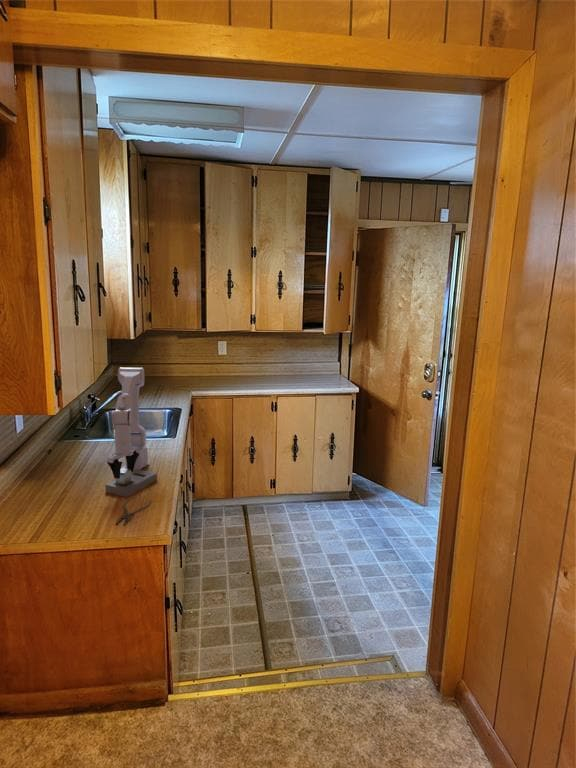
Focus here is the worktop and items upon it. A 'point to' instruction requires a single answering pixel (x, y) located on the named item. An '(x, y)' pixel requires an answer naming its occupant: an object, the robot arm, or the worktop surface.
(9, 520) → the worktop surface
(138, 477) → the socket plate
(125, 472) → the peg
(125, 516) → the pliers
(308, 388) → the worktop surface
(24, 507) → the worktop surface
